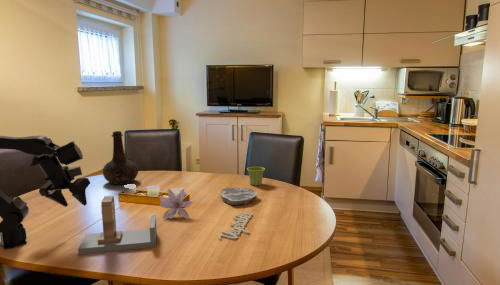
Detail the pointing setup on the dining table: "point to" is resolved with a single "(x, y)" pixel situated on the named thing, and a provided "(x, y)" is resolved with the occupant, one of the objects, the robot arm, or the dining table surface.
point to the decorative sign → (237, 227)
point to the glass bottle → (119, 164)
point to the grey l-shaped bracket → (128, 240)
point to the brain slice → (237, 195)
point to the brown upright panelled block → (109, 222)
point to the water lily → (175, 204)
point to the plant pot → (255, 175)
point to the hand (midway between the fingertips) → (76, 205)
